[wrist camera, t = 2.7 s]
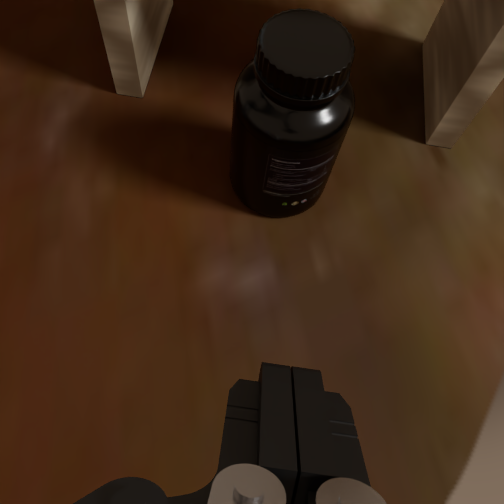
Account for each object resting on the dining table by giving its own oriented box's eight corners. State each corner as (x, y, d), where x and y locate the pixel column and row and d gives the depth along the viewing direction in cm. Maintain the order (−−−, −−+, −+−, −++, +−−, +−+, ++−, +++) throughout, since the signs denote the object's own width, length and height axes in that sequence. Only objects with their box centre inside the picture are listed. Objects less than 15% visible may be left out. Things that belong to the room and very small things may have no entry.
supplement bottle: (218, 149, 34) (222, -1, 23) (306, 135, 35) (349, -15, 24) (242, 230, 31) (258, 102, 20) (336, 212, 32) (398, 81, 22)
